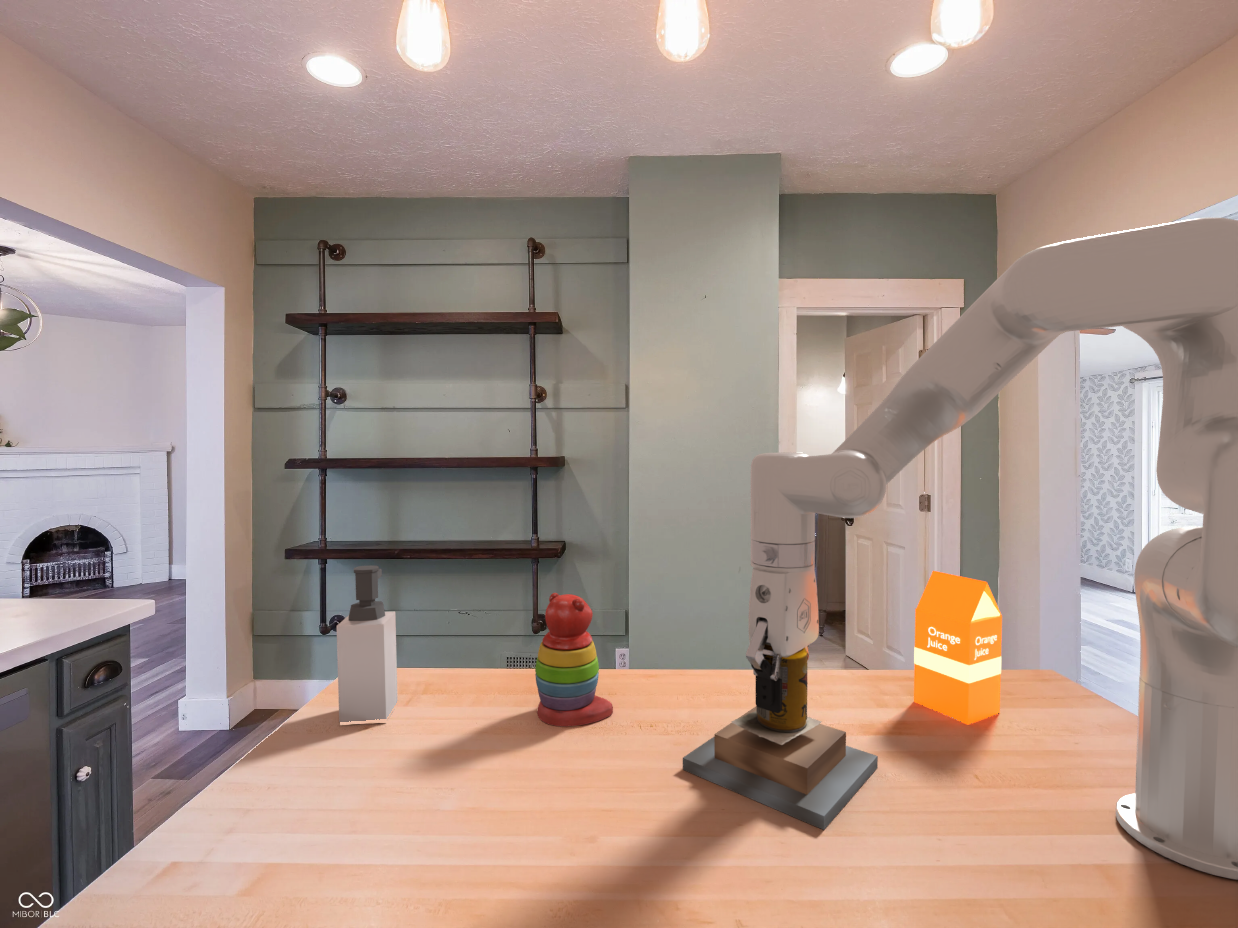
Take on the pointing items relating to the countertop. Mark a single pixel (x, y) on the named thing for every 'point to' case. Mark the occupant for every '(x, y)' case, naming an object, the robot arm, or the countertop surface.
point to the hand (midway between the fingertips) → (782, 698)
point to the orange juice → (958, 648)
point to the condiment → (784, 704)
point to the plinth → (785, 796)
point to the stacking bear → (568, 666)
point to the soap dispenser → (367, 654)
